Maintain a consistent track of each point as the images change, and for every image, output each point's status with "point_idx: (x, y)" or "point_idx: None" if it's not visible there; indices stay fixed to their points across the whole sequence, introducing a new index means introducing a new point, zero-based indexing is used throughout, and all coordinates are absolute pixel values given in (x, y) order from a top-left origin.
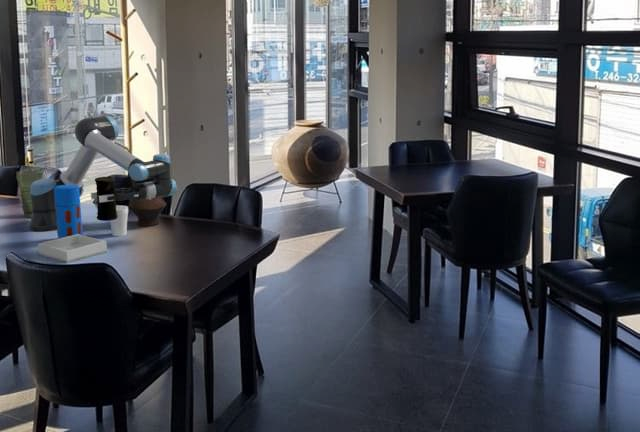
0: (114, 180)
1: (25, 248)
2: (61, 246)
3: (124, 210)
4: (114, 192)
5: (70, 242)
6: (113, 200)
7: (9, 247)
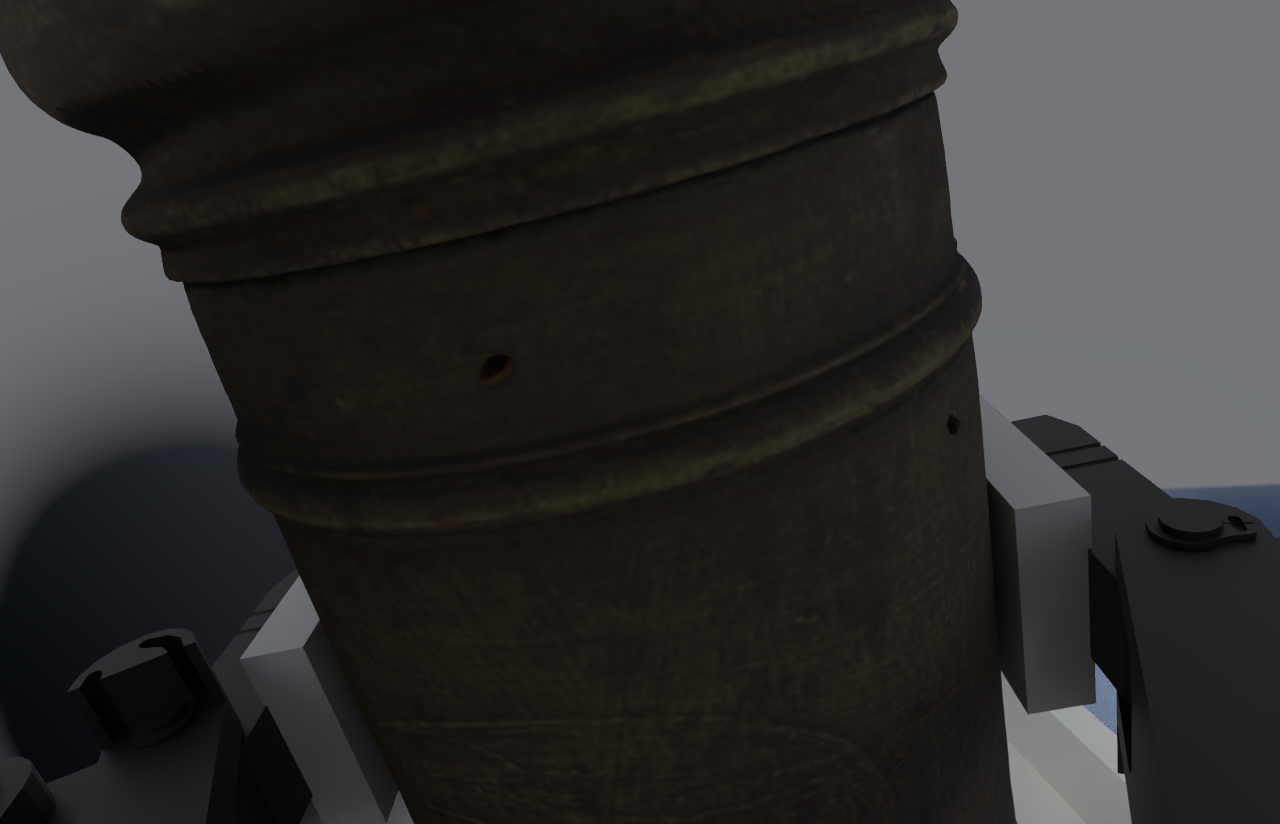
0: (22, 74)
1: None
2: (1014, 738)
3: None
4: (360, 674)
5: (1098, 811)
6: (334, 803)
7: (1216, 500)
